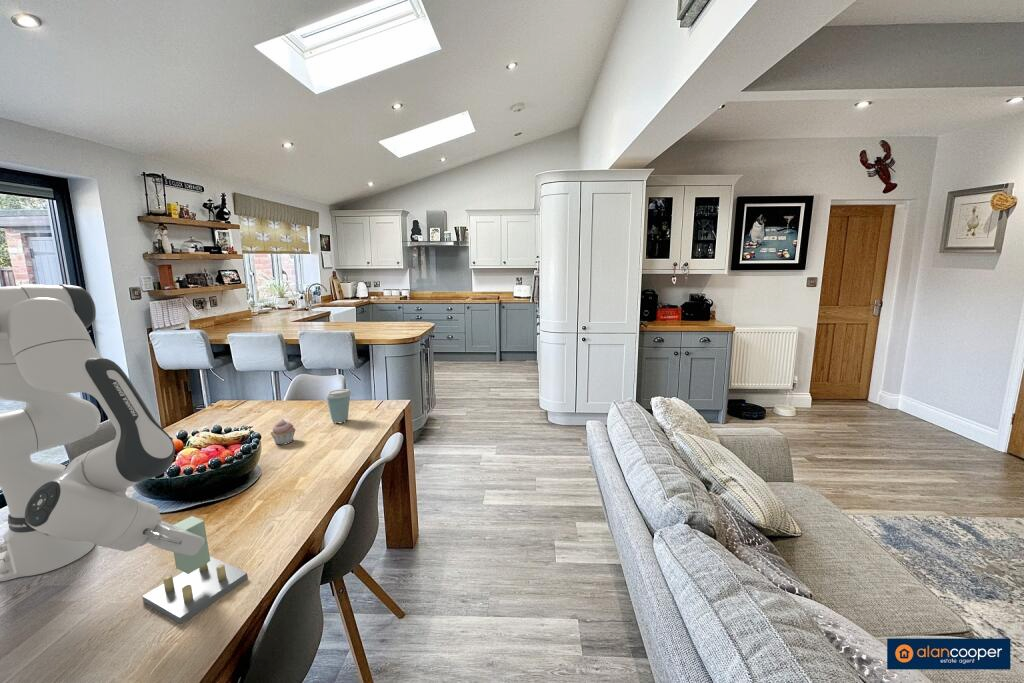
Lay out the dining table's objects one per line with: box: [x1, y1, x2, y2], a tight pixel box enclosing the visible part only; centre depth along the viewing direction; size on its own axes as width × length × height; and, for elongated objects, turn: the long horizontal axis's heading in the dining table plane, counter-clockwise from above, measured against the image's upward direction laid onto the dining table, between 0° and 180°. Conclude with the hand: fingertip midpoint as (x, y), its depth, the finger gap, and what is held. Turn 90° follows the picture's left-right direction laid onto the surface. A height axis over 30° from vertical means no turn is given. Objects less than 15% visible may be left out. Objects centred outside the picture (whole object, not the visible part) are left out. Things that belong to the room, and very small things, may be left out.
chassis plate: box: [141, 555, 249, 625], centre depth 95 cm, size 14×14×4 cm
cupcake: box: [270, 418, 297, 445], centre depth 175 cm, size 9×9×10 cm
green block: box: [173, 515, 210, 574], centre depth 94 cm, size 4×4×10 cm
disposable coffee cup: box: [325, 388, 352, 424], centre depth 197 cm, size 11×11×15 cm
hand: (193, 541), depth 94 cm, fingers closed on green block, 4 cm apart
